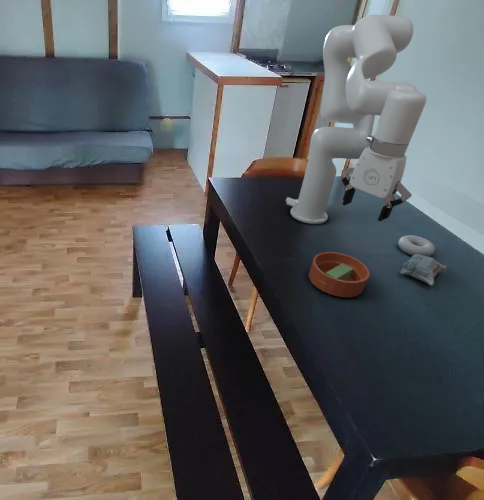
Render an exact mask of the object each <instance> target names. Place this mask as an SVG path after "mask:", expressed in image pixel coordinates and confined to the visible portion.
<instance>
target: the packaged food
mask: <svg viewBox="0 0 484 500" xmlns="http://www.w3.org/2000/svg"><path fill="white" fill-rule="evenodd" d="M447 268H448V265H444V264H441V263H440V262H439V261H437V260H436V259H435V258H434V257H432V256H429V257H427V256H423V255H420V254H415V255H413V256H412V255H411V257H410V258H409V259H408V260H407V261H405V262H404V263H402V265H401V266H400V271H399V272H400V275H401V274H402V275H404V274H405V275H407V276H408V277H411V278H414V279H415V280H419V281H420V282H423V283H426V284H427V285H429V286H434V282H435V278H436V277H437V275H438V274H439V273H441V272H442V271H444V270H446V269H447Z"/></svg>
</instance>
